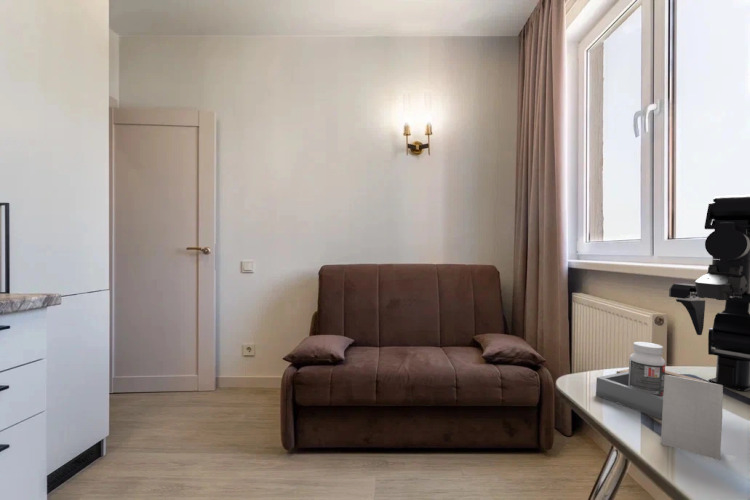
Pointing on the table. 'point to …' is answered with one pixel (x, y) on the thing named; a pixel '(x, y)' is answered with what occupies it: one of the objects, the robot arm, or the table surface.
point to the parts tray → (628, 394)
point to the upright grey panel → (692, 416)
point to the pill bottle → (647, 368)
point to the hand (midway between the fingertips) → (726, 340)
